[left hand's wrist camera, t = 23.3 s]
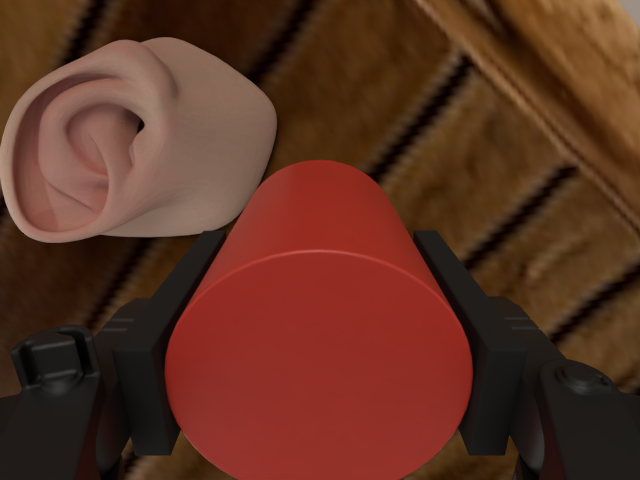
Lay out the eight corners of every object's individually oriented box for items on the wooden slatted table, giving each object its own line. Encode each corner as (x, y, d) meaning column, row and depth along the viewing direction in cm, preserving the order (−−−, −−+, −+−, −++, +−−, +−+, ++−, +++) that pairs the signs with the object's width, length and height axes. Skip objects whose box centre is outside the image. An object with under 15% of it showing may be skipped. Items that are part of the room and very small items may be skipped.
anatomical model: (276, 51, 18) (254, 285, 22) (284, 55, 21) (263, 255, 25) (-42, -1, 17) (-2, 251, 21) (23, 14, 20) (46, 225, 25)
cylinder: (257, 312, 18) (203, 510, 10) (227, 170, 16) (122, 271, 7) (401, 296, 18) (472, 486, 9) (392, 149, 15) (476, 229, 7)
